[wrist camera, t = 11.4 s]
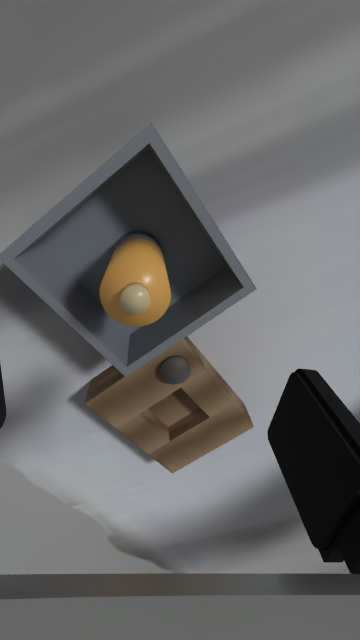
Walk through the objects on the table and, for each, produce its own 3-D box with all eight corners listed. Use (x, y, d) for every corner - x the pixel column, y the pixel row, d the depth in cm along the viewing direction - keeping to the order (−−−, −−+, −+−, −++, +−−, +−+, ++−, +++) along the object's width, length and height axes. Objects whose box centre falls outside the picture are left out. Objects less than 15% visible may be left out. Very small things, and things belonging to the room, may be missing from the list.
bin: (234, 265, 27) (256, 288, 21) (129, 339, 29) (125, 377, 24) (149, 134, 21) (151, 122, 16) (29, 237, 24) (-4, 256, 18)
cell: (172, 259, 25) (186, 306, 16) (135, 286, 26) (130, 345, 17) (142, 220, 23) (140, 248, 15) (104, 250, 24) (80, 295, 15)
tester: (244, 403, 35) (255, 431, 31) (169, 447, 37) (172, 478, 33) (174, 322, 29) (179, 343, 25) (91, 380, 31) (83, 408, 27)
